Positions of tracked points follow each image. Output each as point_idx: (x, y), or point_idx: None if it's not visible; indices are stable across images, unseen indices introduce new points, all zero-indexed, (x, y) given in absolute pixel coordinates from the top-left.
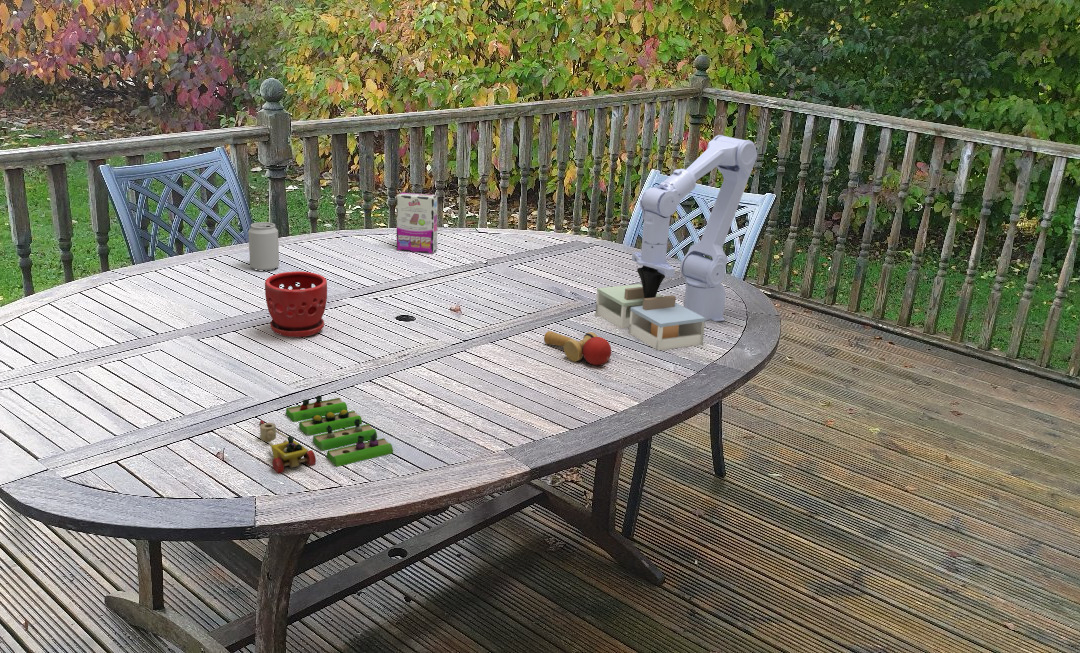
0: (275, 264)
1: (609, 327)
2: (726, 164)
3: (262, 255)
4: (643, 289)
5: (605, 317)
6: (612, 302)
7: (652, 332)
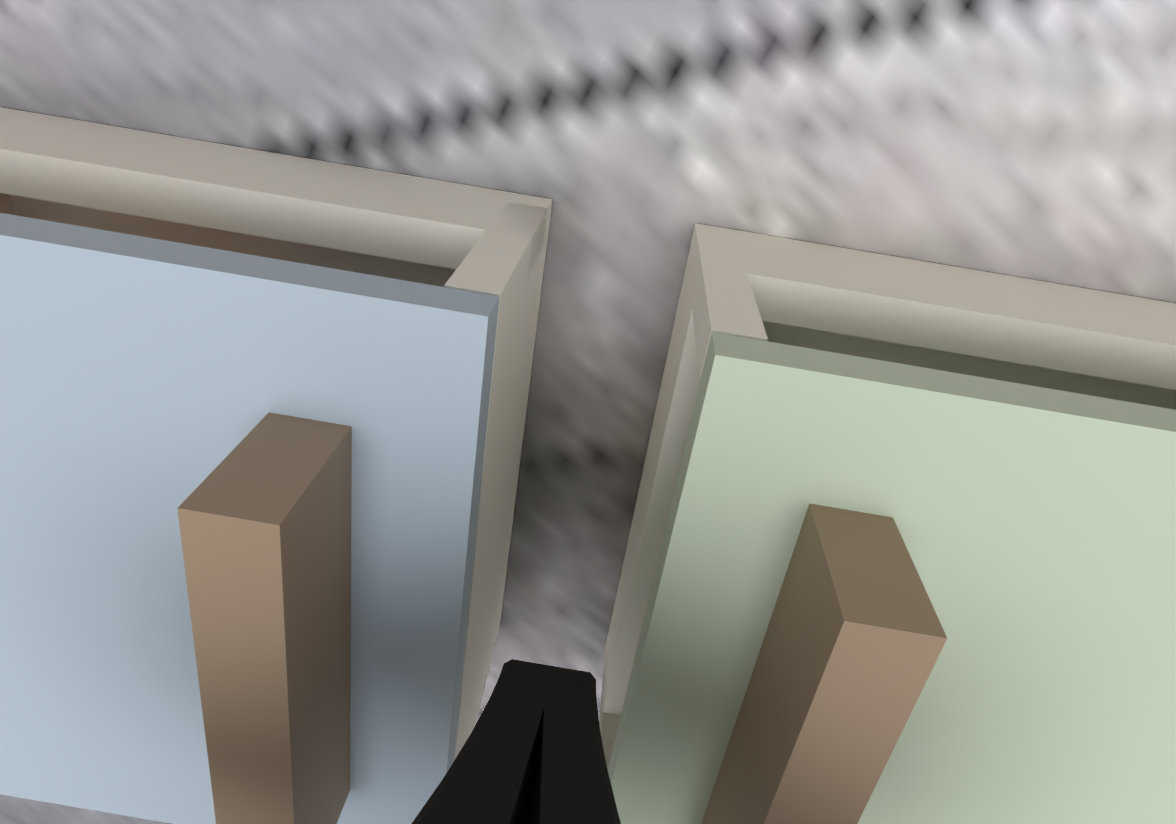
0: None
1: (878, 197)
2: None
3: None
4: (587, 781)
5: (1069, 299)
6: None
7: None
